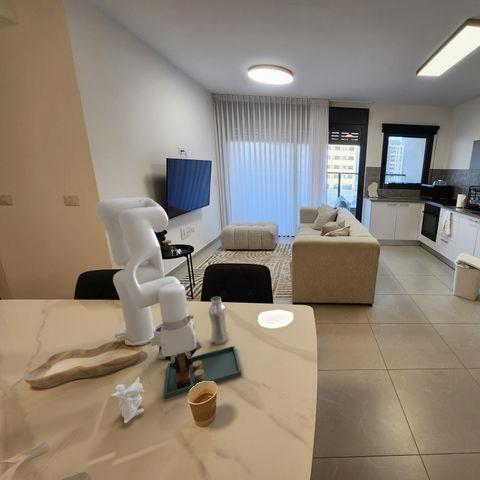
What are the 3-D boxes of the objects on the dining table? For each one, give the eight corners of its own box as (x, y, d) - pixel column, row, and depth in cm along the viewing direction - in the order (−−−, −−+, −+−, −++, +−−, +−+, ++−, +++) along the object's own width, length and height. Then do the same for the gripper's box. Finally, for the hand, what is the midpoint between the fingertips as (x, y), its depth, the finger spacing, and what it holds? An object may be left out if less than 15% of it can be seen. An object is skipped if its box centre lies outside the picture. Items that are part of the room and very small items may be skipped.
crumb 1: (193, 371, 92) (192, 367, 92) (193, 366, 95) (192, 361, 94) (202, 369, 94) (201, 364, 93) (202, 363, 96) (201, 359, 96)
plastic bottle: (223, 347, 106) (219, 303, 101) (208, 345, 108) (203, 301, 102) (231, 337, 112) (228, 295, 107) (217, 335, 114) (213, 294, 108)
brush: (177, 389, 85) (173, 366, 83) (178, 368, 94) (175, 347, 91) (190, 384, 87) (187, 362, 84) (190, 365, 95) (187, 344, 93)
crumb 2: (195, 381, 88) (194, 376, 88) (194, 375, 91) (194, 370, 90) (204, 378, 89) (204, 373, 89) (204, 372, 92) (203, 367, 92)
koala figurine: (127, 431, 72) (119, 396, 69) (109, 424, 74) (100, 390, 71) (153, 405, 80) (147, 373, 77) (136, 400, 82) (130, 368, 79)
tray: (165, 400, 82) (164, 395, 81) (168, 368, 95) (167, 363, 94) (241, 376, 92) (240, 371, 91) (234, 350, 105) (234, 345, 104)
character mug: (161, 368, 95) (156, 337, 91) (148, 362, 98) (143, 332, 94) (187, 350, 104) (183, 321, 101) (175, 345, 107) (171, 317, 104)
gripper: (203, 310, 91) (208, 354, 96) (148, 321, 84) (156, 368, 89) (203, 321, 85) (209, 368, 90) (144, 333, 78) (154, 384, 83)
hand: (183, 367), depth 89 cm, fingers closed on brush, 2 cm apart
